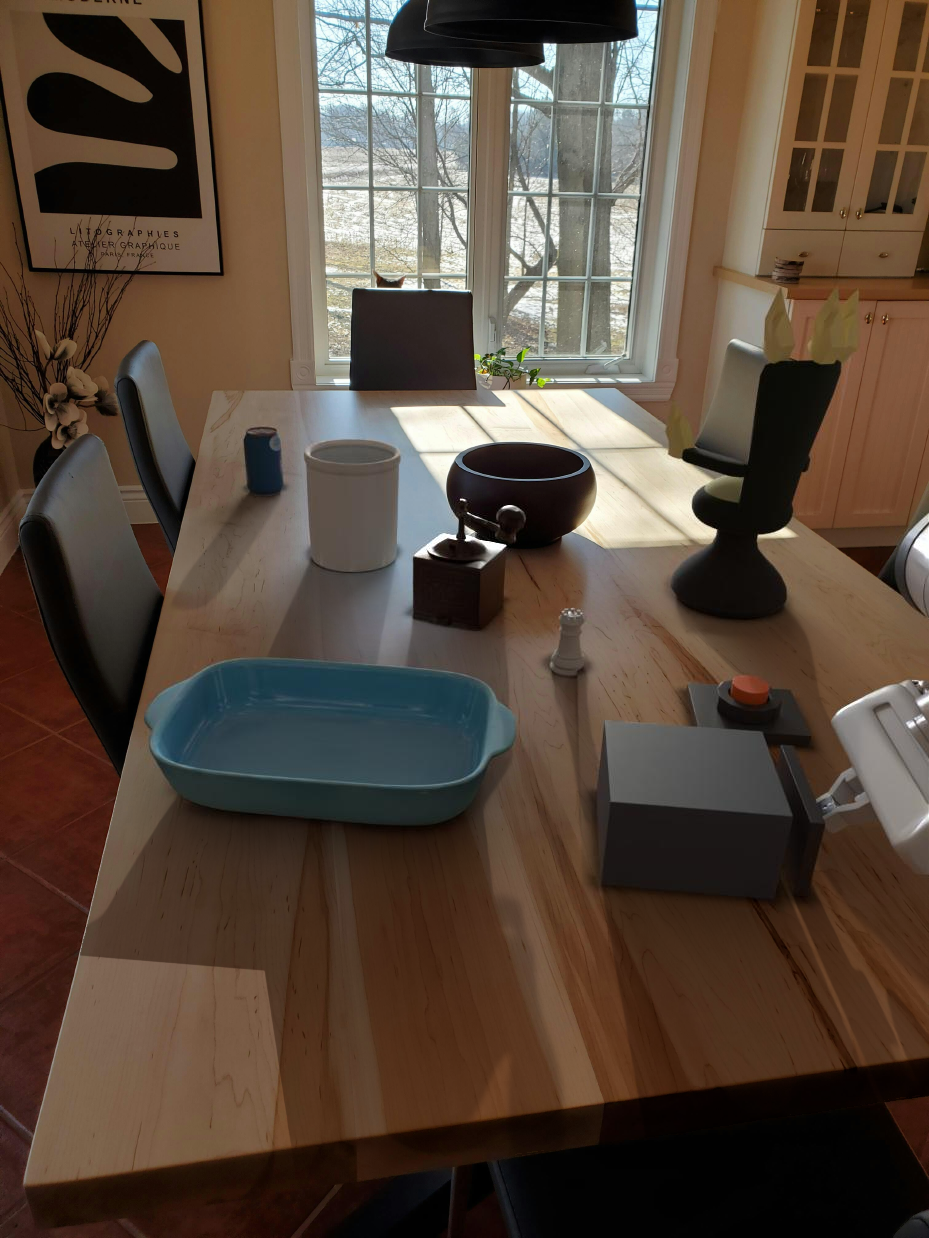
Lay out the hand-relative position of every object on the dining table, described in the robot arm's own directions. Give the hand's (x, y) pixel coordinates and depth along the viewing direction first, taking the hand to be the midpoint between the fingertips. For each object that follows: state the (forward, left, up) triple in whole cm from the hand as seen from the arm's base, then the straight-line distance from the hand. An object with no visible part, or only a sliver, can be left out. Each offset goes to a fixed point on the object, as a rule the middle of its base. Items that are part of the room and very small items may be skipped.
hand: (821, 817), depth 79 cm
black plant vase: (-3, -57, -5) cm, 57 cm away
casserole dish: (+46, -8, -5) cm, 47 cm away
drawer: (+8, 0, -4) cm, 9 cm away
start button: (+2, -23, -1) cm, 23 cm away
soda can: (+80, -96, -5) cm, 125 cm away
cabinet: (+12, 0, -5) cm, 13 cm away
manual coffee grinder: (+35, -47, -5) cm, 59 cm away
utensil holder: (+56, -66, -5) cm, 87 cm away
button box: (+2, -23, -5) cm, 24 cm away
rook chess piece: (+22, -33, -5) cm, 40 cm away
